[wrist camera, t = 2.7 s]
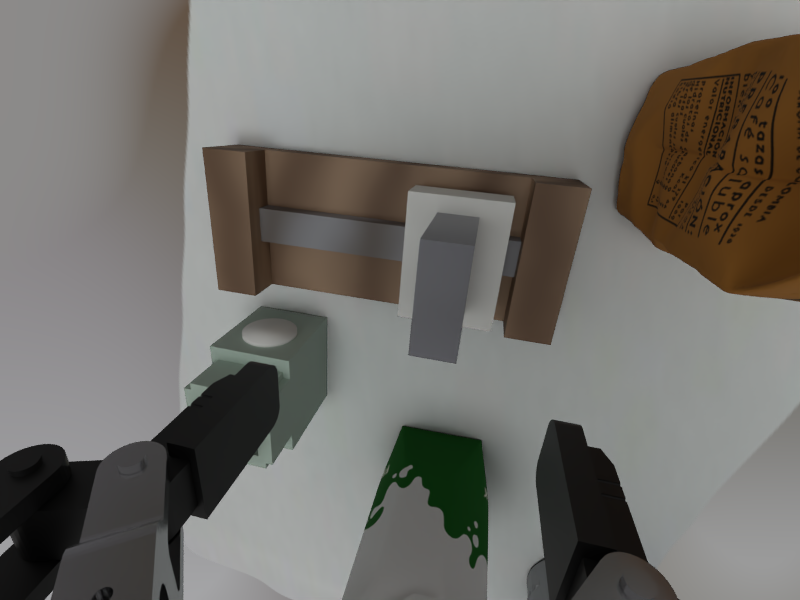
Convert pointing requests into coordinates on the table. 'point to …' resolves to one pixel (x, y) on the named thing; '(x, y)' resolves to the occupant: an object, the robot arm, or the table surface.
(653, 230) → the coffee package
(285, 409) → the cabinet
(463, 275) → the carriage
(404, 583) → the milk carton
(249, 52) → the table surface
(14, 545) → the robot arm
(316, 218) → the rail bed
